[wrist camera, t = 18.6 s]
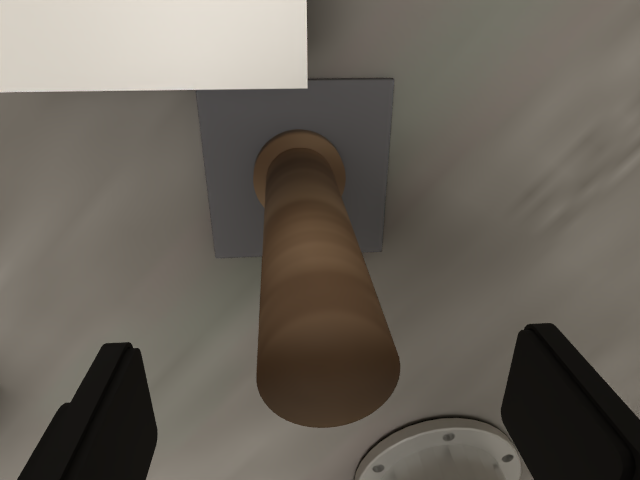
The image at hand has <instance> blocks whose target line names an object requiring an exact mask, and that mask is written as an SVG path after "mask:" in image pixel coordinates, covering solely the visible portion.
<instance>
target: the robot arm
mask: <svg viewBox="0 0 640 480" xmlns="http://www.w3.org/2000/svg"><path fill="white" fill-rule="evenodd" d="M501 417H502V421H503V423H504V426H505V427H506V429H507V431H508V433H509V435H510V436H511V438H512V440H513V442H514V444H515V446H516V447H517V449H518V451H519V453H520V455H521V456H522V458H523V460H524V462H525V464H526V466H527V467H528V469H529V471H530V473H531V475H532V476H533V478H534V480H640V420H639V418H638V417H637V416H636V415H635V414H634V413H633V412H632V411H631V410H630V408H629V407H628V406H627V405H626V404H625V403H624V402H623V401H622V400H621V398H620V397H619V396H618V395H617V394H616V393H615V392H614V391H613V390H612V388H611V387H610V386H609V385H608V384H607V383H606V382H605V381H604V379H603V378H602V377H601V376H600V375H599V374H598V373H597V372H596V371H595V369H594V368H593V367H592V366H591V365H590V364H589V363H588V362H587V361H586V359H585V358H584V357H583V356H582V355H581V354H580V353H579V352H578V351H577V349H576V348H575V347H574V346H573V345H572V344H571V343H570V342H569V341H568V339H567V338H566V337H565V336H564V335H563V334H562V333H561V332H560V330H559V329H558V328H557V327H556V326H555V325H554V324H551V323H542V324H528V325H526V327H525V329H524V330H521V331H520V332H519V334H518V337H517V341H516V346H515V350H514V354H513V359H512V363H511V367H510V372H509V376H508V381H507V385H506V389H505V394H504V398H503V402H502V407H501ZM156 443H157V426H156V421H155V416H154V412H153V407H152V402H151V398H150V393H149V388H148V384H147V379H146V374H145V370H144V365H143V360H142V356H141V352H140V349H139V348H133V346H132V344H131V343H129V342H126V343H106V344H104V345H103V346H102V347H101V349H100V351H99V352H98V354H97V356H96V358H95V360H94V361H93V363H92V365H91V367H90V369H89V370H88V372H87V374H86V376H85V377H84V379H83V381H82V383H81V385H80V386H79V388H78V390H77V392H76V394H75V395H74V397H73V399H72V401H71V402H70V403H65V404H63V405H62V406H61V407H60V408H59V409H58V411H57V412H56V414H55V415H54V417H53V419H52V421H51V422H50V424H49V426H48V428H47V429H46V431H45V433H44V434H43V436H42V438H41V440H40V441H39V443H38V445H37V446H36V448H35V450H34V452H33V453H32V455H31V457H30V458H29V460H28V462H27V464H26V465H25V467H24V469H23V470H22V472H21V474H20V476H19V477H18V479H17V480H146V477H147V474H148V470H149V467H150V464H151V460H152V457H153V454H154V450H155V447H156ZM520 475H521V462H520V458H519V456H518V454H517V452H516V450H515V448H514V446H513V444H512V443H511V441H510V440H509V438H508V437H507V436H506V435H505V434H504V433H502V432H501V431H500V430H499V429H497V428H495V427H493V426H491V425H489V424H487V423H483V422H480V421H476V420H471V419H462V418H443V419H436V420H430V421H424V422H421V423H418V424H415V425H411V426H408V427H406V428H404V429H402V430H400V431H397V432H395V433H393V434H392V435H390V436H389V437H387V438H385V439H384V440H382V441H381V442H380V443H379V444H377V445H376V446H375V447H374V448H373V449H372V450H371V451H369V453H368V454H367V455H366V456H365V458H364V459H363V460H362V462H361V463H360V465H359V467H358V469H357V471H356V475H355V480H520Z"/></svg>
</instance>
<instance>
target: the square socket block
mask: <svg viewBox="0 0 640 480" xmlns="http://www.w3.org/2000/svg"><path fill="white" fill-rule="evenodd" d="M295 88H308V85H307V0H0V92H54V91H134V90H215V89H295Z"/></svg>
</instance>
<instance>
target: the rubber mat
mask: <svg viewBox="0 0 640 480" xmlns="http://www.w3.org/2000/svg"><path fill="white" fill-rule="evenodd" d="M307 85H308V88H295V89H215V90H196V98H197V106H198V115H199V123H200V131H201V140H202V148H203V157H204V165H205V173H206V182H207V190H208V198H209V207H210V215H211V224H212V232H213V240H214V249H215V257H216V258H235V257H260V256H262V251H263V231H264V210H265V208H264V207H263V205H262V204H261V203H260V201H259V200H258V198H257V195H256V193H255V189H254V184H253V174H254V166H255V162H256V158H257V156H258V154H259V152H260V150H261V149H262V147H263V146H264V145H265V144H266V143H267V142H268V141H269V140H270V139H271V138H273V137H274V136H276V135H278V134H280V133H282V132H285V131H289V130H296V129H302V130H309V131H313V132H316V133H318V134H320V135H322V136H323V137H325V138H326V139H327V140H329V141H330V142H331V143H332V144H333V146H334V147H335V148H336V150H337V151H338V153H339V155H340V158H341V160H342V162H343V165H344V168H345V174H346V182H345V188H344V191H343V194H342V196H341V197H342V200H343V203H344V205H345V208H346V211H347V214H348V216H349V219H350V222H351V225H352V228H353V230H354V233H355V236H356V239H357V242H358V244H359V247H360V250H361V252H382V241H383V228H384V214H385V200H386V186H387V173H388V159H389V145H390V132H391V118H392V104H393V91H394V79H393V78H341V79H307Z"/></svg>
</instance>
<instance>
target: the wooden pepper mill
mask: <svg viewBox="0 0 640 480" xmlns="http://www.w3.org/2000/svg"><path fill="white" fill-rule="evenodd" d="M345 182H346V174H345V168H344V165H343V162H342V160H341V158H340V155H339V153H338V151H337V150H336V148H335V147H334V146H333V144H332V143H331V142H330V141H329V140H327V139H326V138H325V137H323V136H322V135H320V134H318V133H316V132H313V131H309V130H302V129H296V130H289V131H285V132H282V133H280V134H278V135H276V136H274V137H273V138H271V139H270V140H269V141H268V142H267V143H266V144H265V145H264V146H263V147H262V149H261V150H260V152H259V154H258V156H257V158H256V162H255V166H254V174H253V184H254V189H255V193H256V195H257V198H258V200H259V201H260V203H261V204H262V205H263V207H264V208H265V210H264V231H263V251H262V272H261V293H260V314H259V334H258V355H257V387H258V390H259V393H260V396H261V397H262V399H263V401H264V402H265V404H266V405H267V406H268V407H269V408H270V409H271V410H272V411H273V412H274V413H275V414H277V415H278V416H280V417H281V418H283V419H285V420H287V421H290V422H292V423H295V424H298V425H302V426H307V427H317V428H328V427H337V426H342V425H346V424H349V423H353V422H355V421H358V420H360V419H362V418H364V417H366V416H368V415H370V414H371V413H373V412H374V411H376V410H377V409H378V408H379V407H381V406H382V405H383V404H384V403H385V402H386V401H387V400H388V398H389V397H390V396H391V394H392V393H393V391H394V389H395V387H396V385H397V382H398V380H399V375H400V361H399V356H398V353H397V350H396V347H395V345H394V342H393V339H392V336H391V334H390V331H389V328H388V325H387V322H386V320H385V317H384V314H383V311H382V308H381V306H380V303H379V300H378V297H377V294H376V292H375V289H374V286H373V283H372V281H371V278H370V275H369V272H368V269H367V267H366V264H365V261H364V258H363V255H362V253H361V250H360V247H359V244H358V242H357V239H356V236H355V233H354V230H353V228H352V225H351V222H350V219H349V216H348V214H347V211H346V208H345V205H344V203H343V200H342V197H341V196H342V194H343V191H344V188H345Z"/></svg>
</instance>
